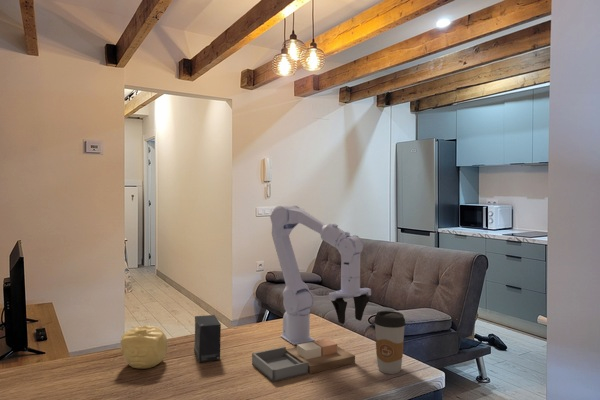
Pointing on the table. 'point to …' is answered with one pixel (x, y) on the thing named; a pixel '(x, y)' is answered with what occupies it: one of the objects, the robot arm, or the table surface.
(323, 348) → the terracotta tile
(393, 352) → the coffee cup
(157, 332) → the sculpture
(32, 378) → the table surface
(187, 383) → the table surface
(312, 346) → the cream tile
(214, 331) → the small box
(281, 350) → the tray
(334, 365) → the board
